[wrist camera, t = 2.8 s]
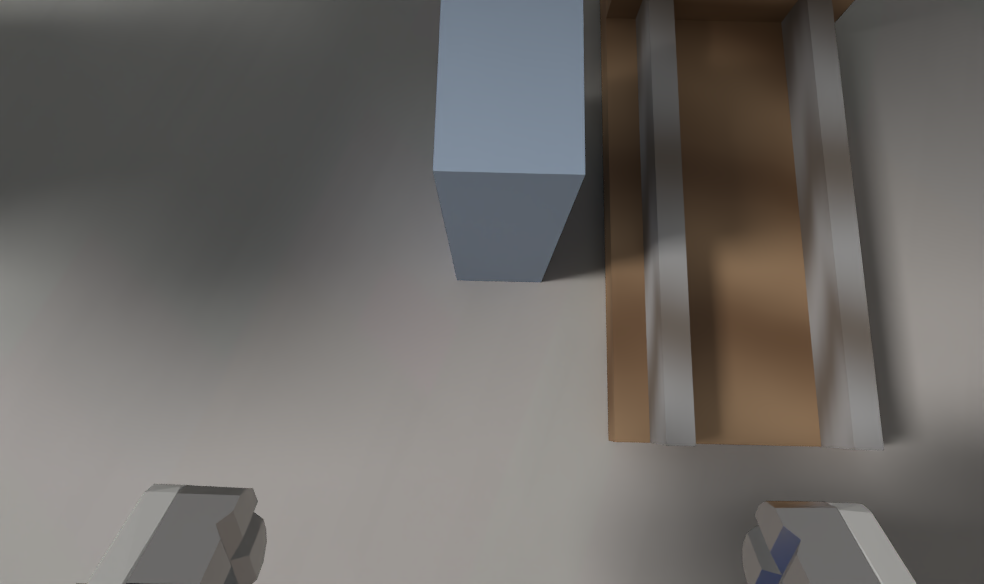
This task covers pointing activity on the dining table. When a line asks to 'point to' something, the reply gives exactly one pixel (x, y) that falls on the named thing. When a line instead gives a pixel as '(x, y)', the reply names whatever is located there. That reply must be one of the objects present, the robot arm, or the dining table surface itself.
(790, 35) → the brown wooden holder
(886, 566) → the robot arm
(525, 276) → the pale blue rectangular block
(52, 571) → the dining table surface
